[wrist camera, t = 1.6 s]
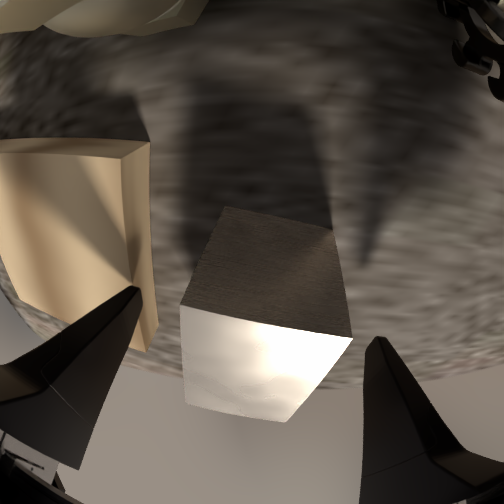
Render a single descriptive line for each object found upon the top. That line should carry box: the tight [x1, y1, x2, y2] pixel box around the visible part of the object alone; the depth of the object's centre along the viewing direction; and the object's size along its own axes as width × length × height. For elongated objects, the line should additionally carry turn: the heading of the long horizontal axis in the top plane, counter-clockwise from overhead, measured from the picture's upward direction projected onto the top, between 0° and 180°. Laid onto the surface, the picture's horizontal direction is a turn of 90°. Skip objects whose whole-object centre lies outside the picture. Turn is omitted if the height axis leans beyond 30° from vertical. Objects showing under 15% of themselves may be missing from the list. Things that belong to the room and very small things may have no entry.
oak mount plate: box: [0, 138, 159, 352], centre depth 11 cm, size 10×10×2 cm
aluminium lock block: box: [180, 206, 353, 422], centre depth 10 cm, size 4×6×5 cm, turn 170°
